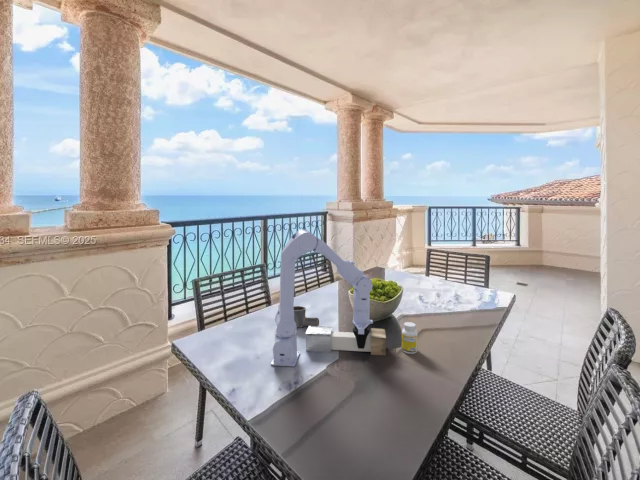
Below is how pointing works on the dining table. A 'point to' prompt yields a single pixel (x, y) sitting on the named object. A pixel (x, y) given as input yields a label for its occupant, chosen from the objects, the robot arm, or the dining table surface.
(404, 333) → the supplement bottle
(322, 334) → the sleeve
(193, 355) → the dining table surface
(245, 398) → the dining table surface
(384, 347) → the socket
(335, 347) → the long white bar
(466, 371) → the dining table surface
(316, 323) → the pipe
